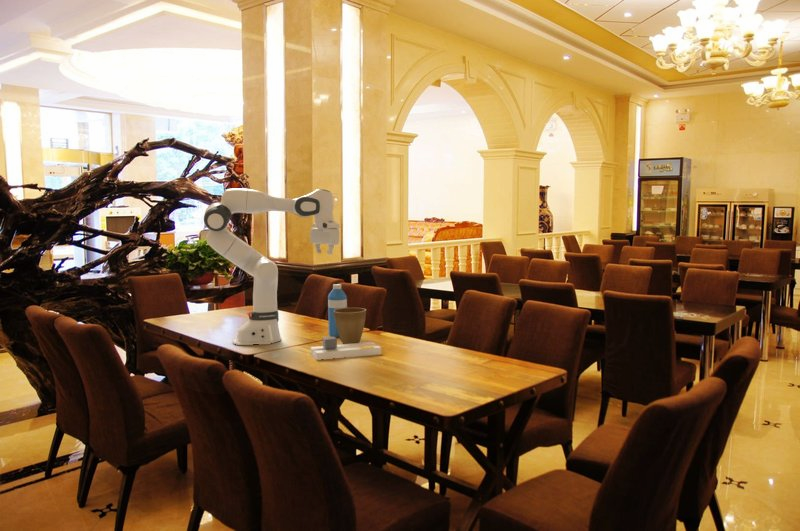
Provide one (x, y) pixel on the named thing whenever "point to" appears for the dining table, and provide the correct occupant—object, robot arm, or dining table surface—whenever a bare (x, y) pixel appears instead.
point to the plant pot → (350, 324)
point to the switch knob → (329, 343)
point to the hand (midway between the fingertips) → (324, 253)
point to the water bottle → (335, 307)
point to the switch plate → (346, 351)
